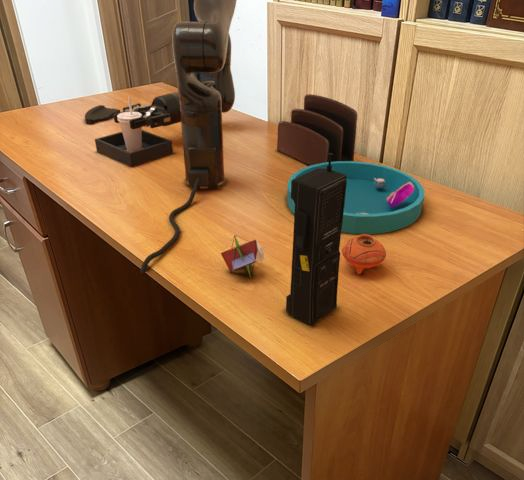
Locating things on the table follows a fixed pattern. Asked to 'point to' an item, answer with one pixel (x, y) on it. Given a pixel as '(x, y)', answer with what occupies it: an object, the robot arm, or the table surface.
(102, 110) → the curved wedge
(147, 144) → the dark grey rectangular frame
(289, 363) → the table surface
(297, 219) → the portable radio
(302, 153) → the letter holder
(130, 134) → the smoothie
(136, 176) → the table surface
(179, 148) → the table surface
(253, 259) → the geometric puzzle
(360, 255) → the pot
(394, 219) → the round teal tray
